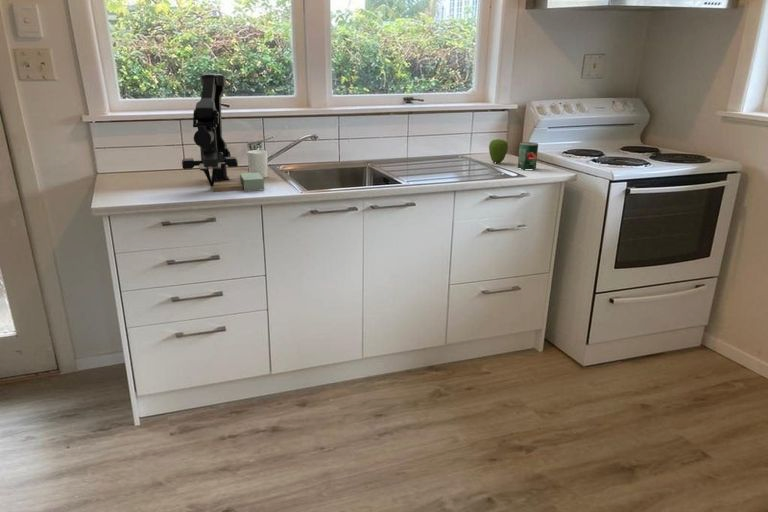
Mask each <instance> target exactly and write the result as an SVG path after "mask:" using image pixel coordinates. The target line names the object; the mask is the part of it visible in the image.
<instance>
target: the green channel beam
mask: <svg viewBox="0 0 768 512" xmlns="http://www.w3.org/2000/svg"><path fill="white" fill-rule="evenodd" d="M239 180H240V181H239V182H241V183H242V184H244V185H243V190H244V192H248V190H253V191H261V190H260V189H264V190H265V178H263V177H262V176H261V175H260V174H259V173H250V172H249V173H248V172H246V173H245V172H244V173H242V172H241V173H239Z"/></svg>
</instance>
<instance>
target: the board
mask: <svg viewBox="0 0 768 512" xmlns="http://www.w3.org/2000/svg"><path fill="white" fill-rule="evenodd" d="M212 189H213V191H214V192H226V191H228V190H230V191H240V190H241V189H243V190H244V185H242V183H241V182H240V181H233V182H232V181H229V182H214V185H213V187H212ZM241 191H242V190H241Z"/></svg>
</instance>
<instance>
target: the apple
mask: <svg viewBox="0 0 768 512" xmlns="http://www.w3.org/2000/svg"><path fill="white" fill-rule="evenodd" d="M508 148H509V144H508V142H507V141H506V140H505V139H501V138H498V139H492V140H491V141H490V143H489V145H488V150H489V151H488V153H489V155H490V159H491V161H492V163H494V162H496V163H499V164H501V163H502V162H503V161H504V160H505V157H506V155H507V153H508ZM500 162H501V163H500Z"/></svg>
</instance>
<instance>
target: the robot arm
mask: <svg viewBox="0 0 768 512" xmlns="http://www.w3.org/2000/svg"><path fill="white" fill-rule="evenodd" d="M200 83H201V85H200V86H201V88H202V89H201V96H200V100H199V101H198V102H196V105H195V108H194V109H193V116H192V118H193V119H192V128H197V130H196V132H194V134H193V142H194V143H195V145H197V147H199V150H200V159H199V160H195V159H194V158H193V157H192V158H191V157H190V158H188V157H187V158H183V159H181V165H182V166H181V167H182V170H190V169H191V170H192V169H193V168H194V167H199V170H200V171H201V172H202V171H203V173H204V174H205V177H206V178H207V180H208V183H209V186H210V188H213V185H214V183H215V181H226V180H228V181H229V180H230V176H228V168H237V167H239V166H238V165H239V164H238V159H237V158H236V157H235V156H231V151H230V150H229V147H228V144H227V142H226V141H225V140H224V138H223V129H222V128H223V125H222V123H223V122H222V100H221V99H222V97H223V96H224V94H225V91H226V90H225V88H227V80H226V76H225V75H223V74H222V73H204V74H202V75H200ZM209 168H211V173H210V169H209Z"/></svg>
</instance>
